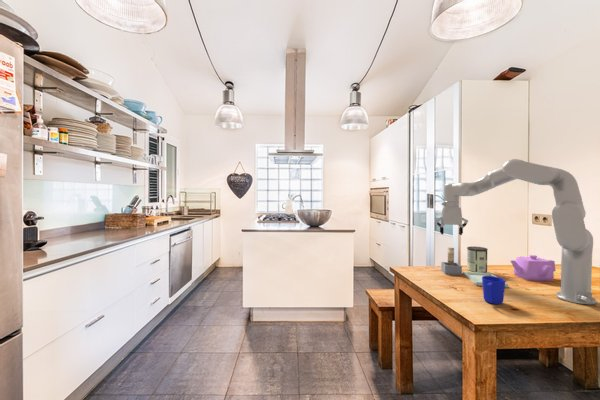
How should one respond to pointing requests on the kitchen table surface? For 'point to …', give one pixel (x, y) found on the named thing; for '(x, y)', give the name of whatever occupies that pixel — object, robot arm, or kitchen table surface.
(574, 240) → the robot arm
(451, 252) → the dowel
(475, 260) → the coffee can
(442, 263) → the grey square bin
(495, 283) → the mug
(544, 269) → the teakettle
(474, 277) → the tray
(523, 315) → the kitchen table surface
